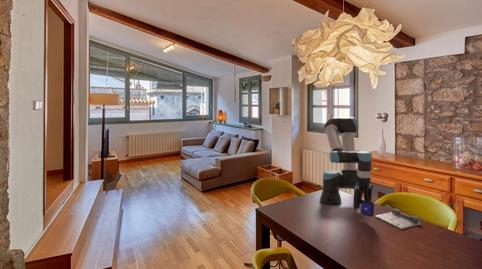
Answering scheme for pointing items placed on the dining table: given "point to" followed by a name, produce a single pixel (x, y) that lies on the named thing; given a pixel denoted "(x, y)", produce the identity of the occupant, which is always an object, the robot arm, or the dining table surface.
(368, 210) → the small display screen
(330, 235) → the dining table surface
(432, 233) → the dining table surface
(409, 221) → the white plate with bar
